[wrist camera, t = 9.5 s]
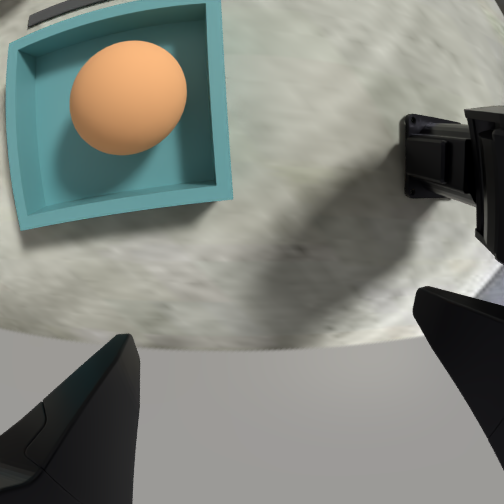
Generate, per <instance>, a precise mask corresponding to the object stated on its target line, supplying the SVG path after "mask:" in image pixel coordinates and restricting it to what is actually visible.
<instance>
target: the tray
mask: <svg viewBox="0 0 504 504" xmlns="http://www.w3.org/2000/svg"><path fill="white" fill-rule="evenodd" d="M124 41H145V42H149V43H153V44H155V45H157V46H160V47H162V48H163V49H165V50H166V51H167V52H169V53H170V54H171V55H172V56H173V57H174V58H175V59H176V61H177V62H178V63H179V65H180V67H181V68H182V71H183V73H184V76H185V80H186V86H187V97H186V104H185V108H184V111H183V113H182V116H181V118H180V120H179V122H178V123H177V125H176V126H175V128H174V129H173V130H172V132H171V133H170V134H169V135H168V136H167V137H166V138H165V139H164V140H162V141H161V142H160V143H158V144H157V145H155V146H153V147H152V148H150V149H148V150H145V151H143V152H140V153H136V154H131V155H112V154H108V153H104V152H101V151H99V150H97V149H95V148H93V147H92V146H90V145H89V144H88V143H87V142H85V141H84V140H83V139H82V138H81V136H80V135H79V134H78V132H77V131H76V129H75V127H74V124H73V122H72V119H71V114H70V93H71V89H72V86H73V83H74V80H75V78H76V76H77V74H78V73H79V71H80V70H81V68H82V67H83V66H84V64H85V63H86V62H87V61H88V60H89V59H90V58H91V57H92V56H94V55H95V54H96V53H97V52H99V51H101V50H102V49H104V48H106V47H108V46H110V45H113V44H116V43H119V42H124ZM6 132H7V146H8V157H9V166H10V174H11V182H12V188H13V194H14V200H15V206H16V211H17V216H18V221H19V225H20V230H21V231H23V230H28V229H33V228H38V227H43V226H48V225H53V224H59V223H64V222H70V221H76V220H81V219H87V218H93V217H100V216H106V215H112V214H119V213H126V212H132V211H139V210H147V209H154V208H162V207H169V206H177V205H186V204H194V203H203V202H212V201H222V200H232V199H233V189H232V175H231V161H230V147H229V132H228V117H227V101H226V85H225V68H224V50H223V32H222V12H221V0H138V1H133V2H128V3H124V4H119V5H115V6H111V7H107V8H103V9H99V10H96V11H92V12H89V13H85V14H82V15H79V16H76V17H73V18H70V19H67V20H64V21H61V22H58V23H56V24H53V25H50V26H48V27H45V28H43V29H40V30H38V31H35V32H33V33H31V34H29V35H26V36H24V37H22V38H20V39H18V40H16V41H14V42H11V43H9V49H8V60H7V74H6Z"/></svg>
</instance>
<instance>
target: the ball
mask: <svg viewBox="0 0 504 504" xmlns="http://www.w3.org/2000/svg"><path fill="white" fill-rule="evenodd" d="M186 97H187V86H186V80H185V76H184V73H183V71H182V68H181V67H180V65H179V63H178V62H177V61H176V59H175V58H174V57H173V56H172V55H171V54H170V53H169V52H167V51H166V50H165V49H163V48H162V47H160V46H157V45H155V44H153V43H149V42H145V41H124V42H119V43H116V44H113V45H110V46H108V47H106V48H104V49H102V50H101V51H99V52H97V53H96V54H95V55H94V56H92V57H91V58H90V59H89V60H88V61H87V62H86V63H85V64H84V66H83V67H82V68H81V70H80V71H79V73H78V74H77V76H76V78H75V80H74V83H73V86H72V89H71V93H70V114H71V119H72V122H73V124H74V127H75V129H76V131H77V132H78V134H79V135H80V136H81V138H82V139H83V140H84V141H85V142H87V143H88V144H89V145H90V146H92V147H93V148H95V149H97V150H99V151H101V152H104V153H108V154H112V155H131V154H136V153H140V152H143V151H145V150H148V149H150V148H152V147H153V146H155V145H157V144H158V143H160V142H161V141H162V140H164V139H165V138H166V137H167V136H168V135H169V134H170V133H171V132H172V130H173V129H174V128H175V126H176V125H177V123H178V122H179V120H180V118H181V116H182V113H183V111H184V108H185V104H186Z"/></svg>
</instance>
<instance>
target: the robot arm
mask: <svg viewBox="0 0 504 504" xmlns="http://www.w3.org/2000/svg"><path fill="white" fill-rule="evenodd" d="M464 112H465V117H466V118H467V121H468V125H465V124H461V123H458V122H454V121H449V120H444V119H439V118H434V117H428V116H423V115H417V114H408V115H407V116H406V119H405V123H406V178H405V194H406V196H407V197H409V198H445V197H448V198H451V199H454V200H457V201H460V202H463V203H466V204H469V205H471V206H474V207H476V219H477V228H476V229H475V237H476V238H477V239H478V240H479V241H480V242H481V243H482V244H483V245H484V246H485V247H486V248H487V249H488V250H489V251H490V252H491V253H492V254H493V255H494V256H495V259H496V260H497V261H498V262H500V263H501V264H503V265H504V106H490V107H480V108H471V109H464ZM411 118H412V119H413V122H411ZM411 190H412V193H410V192H411ZM413 316H414V318H415V319H416V321H417V323H418V325H419V326H420V328H421V330H422V332H423V333H424V335H425V337H426V339H427V341H428V342H429V344H430V346H431V348H432V349H433V351H434V352H435V354H436V355H437V357H438V358H439V360H440V361H441V363H442V364H443V366H444V367H445V369H446V370H447V372H448V373H449V375H450V377H451V378H452V380H453V381H454V383H455V384H456V386H457V388H458V389H459V391H460V392H461V394H462V396H463V397H464V399H465V400H466V402H467V404H468V405H469V407H470V409H471V410H472V412H473V414H474V416H475V417H476V419H477V421H478V422H479V424H480V426H481V428H482V429H483V431H484V433H485V435H486V437H487V438H488V441H489V443H490V444H491V446H492V448H493V450H494V452H495V454H496V456H497V458H498V460H499V462H500V463H501V466H502V468H503V470H504V306H502V305H498V304H494V303H491V302H487V301H483V300H479V299H476V298H472V297H468V296H464V295H461V294H457V293H453V292H449V291H445V290H442V289H438V288H434V287H430V286H425V287H421V288H419V289H418V290H417V292H416V296H415V301H414V306H413ZM139 408H140V358H139V354H138V351H137V348H136V346H135V343H134V339H133V337H132V335H131V334H118V335H116V336H115V337H114V338H112V339H111V340H110V341H109V342H108V343H107V344H105V345H104V346H103V347H102V348H101V349H100V350H99V351H97V352H96V353H95V354H94V355H93V356H92V357H91V358H89V359H88V360H87V361H86V362H85V363H84V364H83V365H81V366H80V367H79V368H78V369H77V370H76V371H75V372H74V373H73V374H71V375H70V376H69V377H68V378H67V379H66V380H65V381H63V382H62V383H61V384H60V385H59V386H58V387H57V388H56V389H54V390H53V391H52V392H51V393H50V394H49V395H48V396H47V397H46V398H44V400H43V402H40V403H39V404H38V405H37V406H36V407H35V408H34V409H32V411H30V412H29V413H28V414H27V415H25V416H24V417H23V418H22V419H21V420H20V421H18V422H17V423H16V424H15V425H13V426H12V427H11V428H10V429H8V430H7V431H6V432H4V433H3V434H2V435H0V504H132V498H133V477H134V476H133V475H134V462H135V449H136V439H137V428H138V419H139Z"/></svg>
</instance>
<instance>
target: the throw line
mask: <svg viewBox="0 0 504 504" xmlns="http://www.w3.org/2000/svg"><path fill="white" fill-rule="evenodd" d="M102 1H106V0H67V1H65V2H62V3H59V4H57V5H54V6H51V7H49V8H46V9H44V10H42V11H39V12H37V13H35V14H32V15H30V17H29V24H28V27H31V26H33V25H35V24H38V23H40V22H42V21H45V20H47V19H50V18H53V17H55V16H58V15H61V14H63V13H66V12H69V11H72V10H75V9H78V8H81V7H84V6H88V5H91V4H95V3H98V2H102Z"/></svg>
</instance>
